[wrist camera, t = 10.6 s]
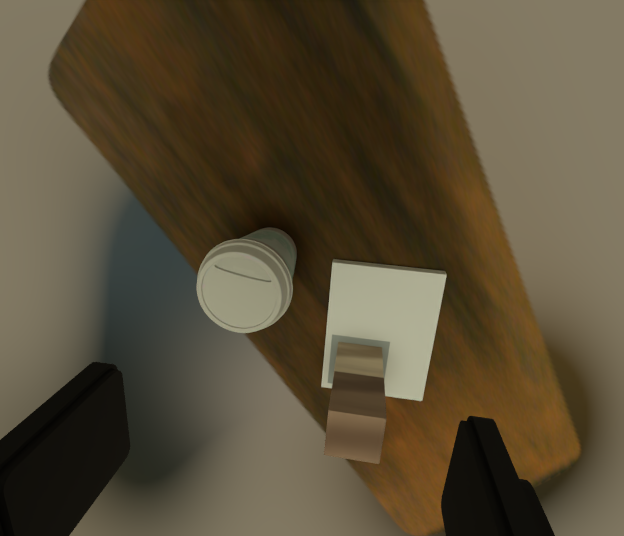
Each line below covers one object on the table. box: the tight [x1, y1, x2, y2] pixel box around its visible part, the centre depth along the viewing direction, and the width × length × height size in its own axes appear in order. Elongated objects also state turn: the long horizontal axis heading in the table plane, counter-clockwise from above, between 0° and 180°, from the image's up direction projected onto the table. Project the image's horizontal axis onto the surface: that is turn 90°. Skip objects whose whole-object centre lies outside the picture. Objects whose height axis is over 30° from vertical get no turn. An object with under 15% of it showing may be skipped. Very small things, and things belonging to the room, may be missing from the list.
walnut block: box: [324, 371, 386, 464], centre depth 38 cm, size 5×5×6 cm
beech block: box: [333, 342, 384, 378], centre depth 44 cm, size 5×5×6 cm
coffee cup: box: [197, 227, 297, 333], centre depth 39 cm, size 8×9×12 cm
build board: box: [321, 259, 447, 401], centre depth 46 cm, size 16×12×1 cm
